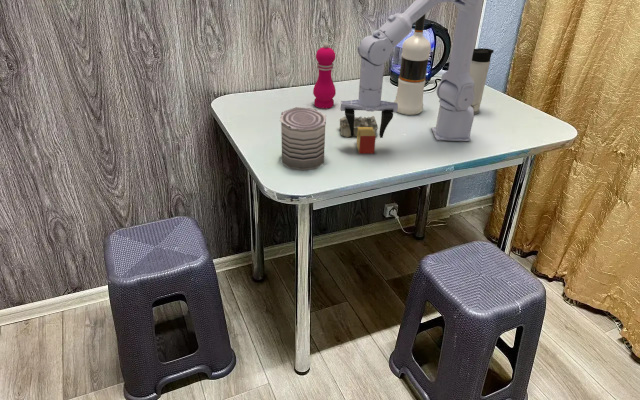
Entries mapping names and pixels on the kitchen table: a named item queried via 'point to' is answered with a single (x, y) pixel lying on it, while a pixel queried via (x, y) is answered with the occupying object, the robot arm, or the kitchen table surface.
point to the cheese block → (366, 140)
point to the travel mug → (479, 74)
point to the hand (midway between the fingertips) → (366, 135)
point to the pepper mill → (324, 78)
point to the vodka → (413, 71)
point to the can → (303, 138)
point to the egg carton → (357, 125)
